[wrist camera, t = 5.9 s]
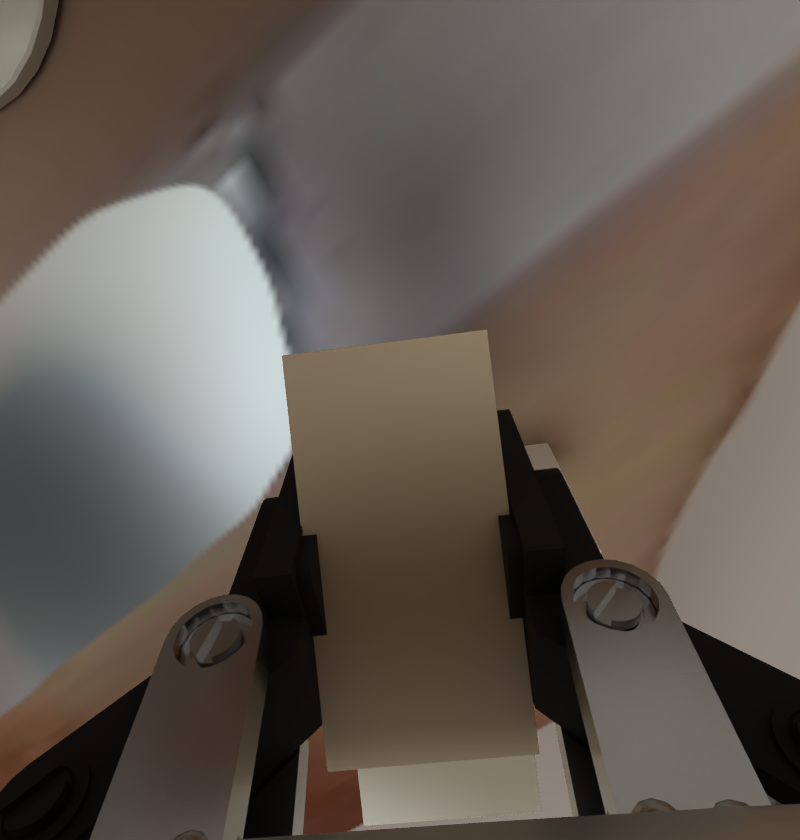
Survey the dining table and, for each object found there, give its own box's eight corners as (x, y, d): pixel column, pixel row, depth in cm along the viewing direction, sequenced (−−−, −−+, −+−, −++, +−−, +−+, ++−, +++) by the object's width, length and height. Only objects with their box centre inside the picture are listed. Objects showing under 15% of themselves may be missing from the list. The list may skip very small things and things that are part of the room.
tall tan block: (320, 389, 13) (249, 360, 8) (484, 369, 12) (521, 325, 7) (367, 806, 12) (324, 1064, 7) (536, 792, 12) (612, 1049, 7)
